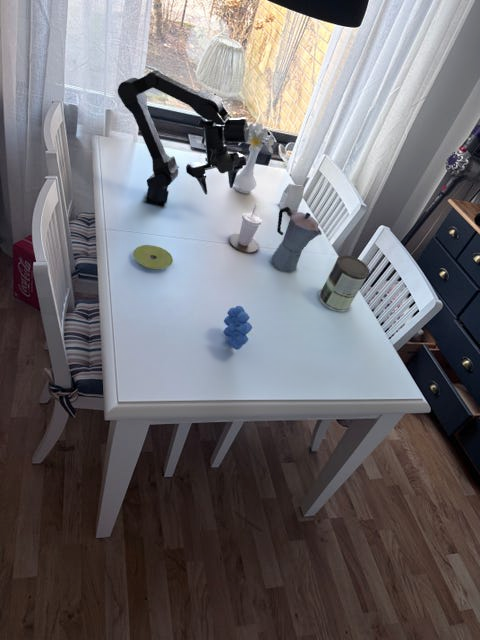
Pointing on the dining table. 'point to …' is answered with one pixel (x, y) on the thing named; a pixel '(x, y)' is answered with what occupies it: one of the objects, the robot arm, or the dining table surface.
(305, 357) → the dining table surface
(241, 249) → the disc
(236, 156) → the robot arm
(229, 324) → the grapes
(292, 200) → the white carton
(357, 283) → the coffee can
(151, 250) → the green grainy disc
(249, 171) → the flower vase
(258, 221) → the smoothie
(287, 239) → the moka pot
